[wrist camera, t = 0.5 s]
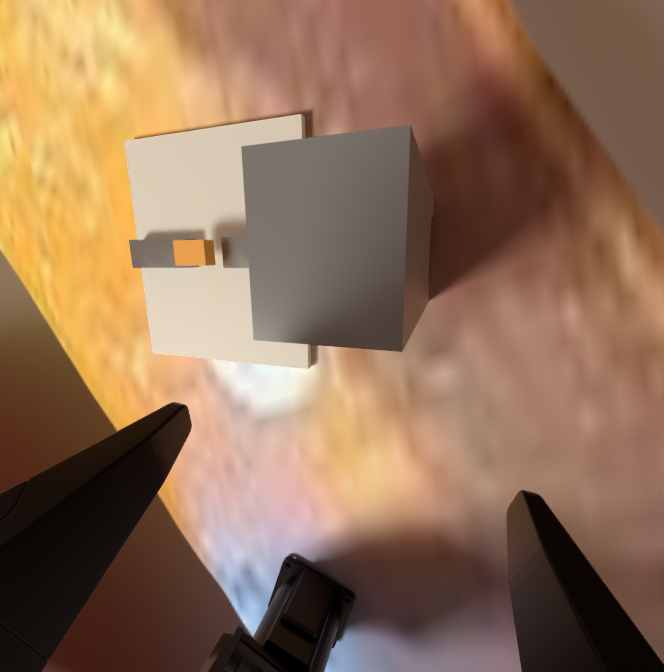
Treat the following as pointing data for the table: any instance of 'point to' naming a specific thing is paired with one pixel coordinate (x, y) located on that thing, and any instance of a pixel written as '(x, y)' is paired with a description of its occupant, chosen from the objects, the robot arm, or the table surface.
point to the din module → (338, 238)
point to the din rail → (162, 256)
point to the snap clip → (194, 252)
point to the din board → (203, 224)
